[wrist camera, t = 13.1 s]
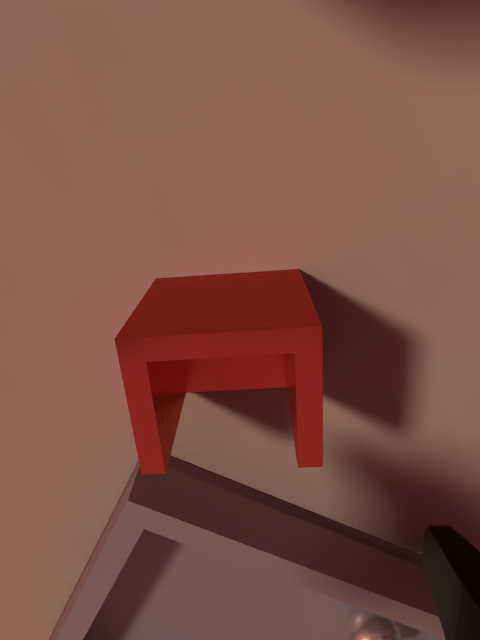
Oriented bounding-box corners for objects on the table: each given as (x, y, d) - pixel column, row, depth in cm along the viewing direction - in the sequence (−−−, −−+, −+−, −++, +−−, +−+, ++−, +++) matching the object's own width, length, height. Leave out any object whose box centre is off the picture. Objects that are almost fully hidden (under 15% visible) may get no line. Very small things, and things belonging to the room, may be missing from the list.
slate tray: (475, 577, 24) (510, 643, 21) (330, 719, 30) (339, 789, 27) (146, 446, 21) (127, 500, 18) (52, 632, 27) (25, 699, 24)
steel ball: (413, 667, 23) (399, 600, 24) (403, 682, 21) (388, 607, 22) (357, 665, 24) (347, 601, 26) (342, 680, 22) (331, 609, 23)
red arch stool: (299, 269, 18) (322, 326, 12) (302, 375, 20) (322, 466, 14) (155, 278, 18) (114, 338, 13) (171, 382, 20) (142, 474, 14)
